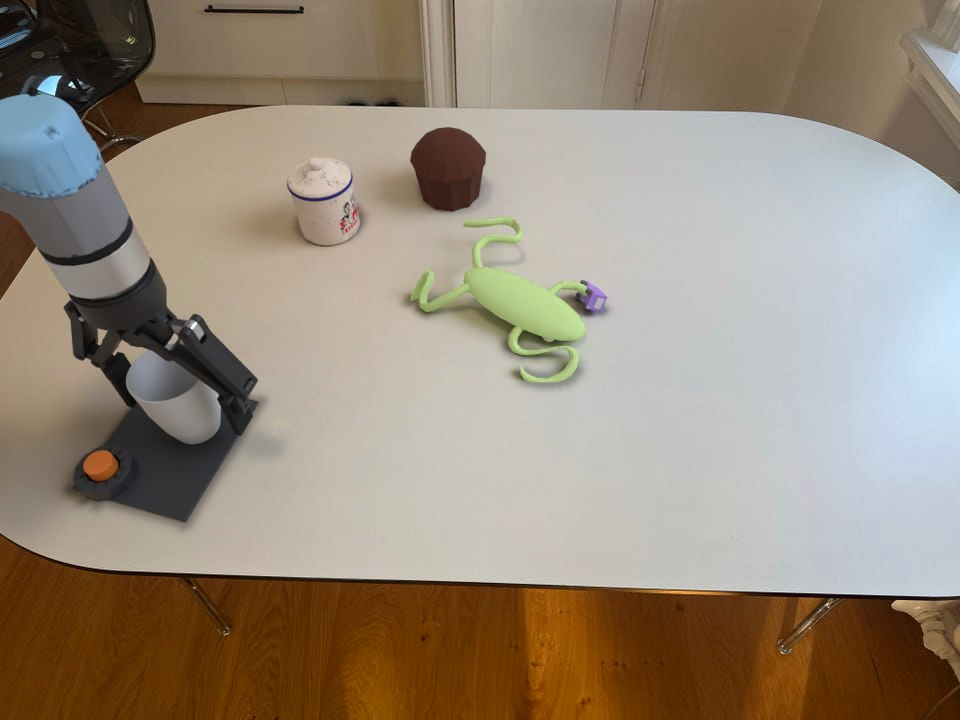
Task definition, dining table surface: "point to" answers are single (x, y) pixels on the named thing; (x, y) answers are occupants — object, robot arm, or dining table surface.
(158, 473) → the dark grey flat slab
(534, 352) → the figurine
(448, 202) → the muffin
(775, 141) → the dining table surface
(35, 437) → the dining table surface
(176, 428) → the cup
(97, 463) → the button
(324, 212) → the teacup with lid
